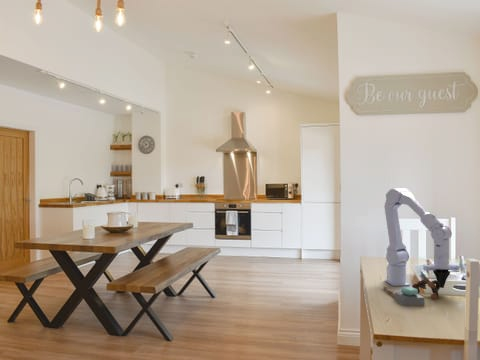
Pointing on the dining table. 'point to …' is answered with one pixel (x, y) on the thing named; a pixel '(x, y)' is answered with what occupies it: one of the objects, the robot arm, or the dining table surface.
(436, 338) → the dining table surface
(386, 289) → the rail
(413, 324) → the dining table surface
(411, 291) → the dome button
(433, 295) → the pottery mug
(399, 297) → the dome box
